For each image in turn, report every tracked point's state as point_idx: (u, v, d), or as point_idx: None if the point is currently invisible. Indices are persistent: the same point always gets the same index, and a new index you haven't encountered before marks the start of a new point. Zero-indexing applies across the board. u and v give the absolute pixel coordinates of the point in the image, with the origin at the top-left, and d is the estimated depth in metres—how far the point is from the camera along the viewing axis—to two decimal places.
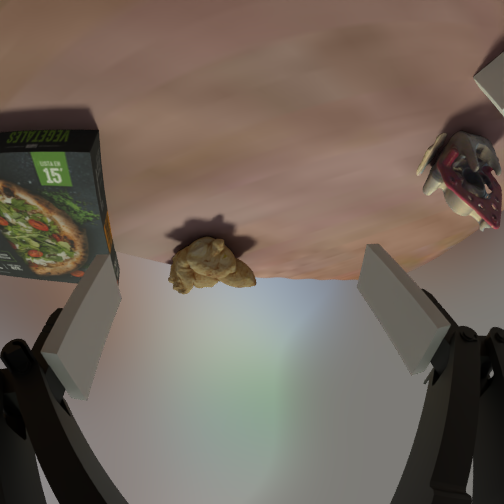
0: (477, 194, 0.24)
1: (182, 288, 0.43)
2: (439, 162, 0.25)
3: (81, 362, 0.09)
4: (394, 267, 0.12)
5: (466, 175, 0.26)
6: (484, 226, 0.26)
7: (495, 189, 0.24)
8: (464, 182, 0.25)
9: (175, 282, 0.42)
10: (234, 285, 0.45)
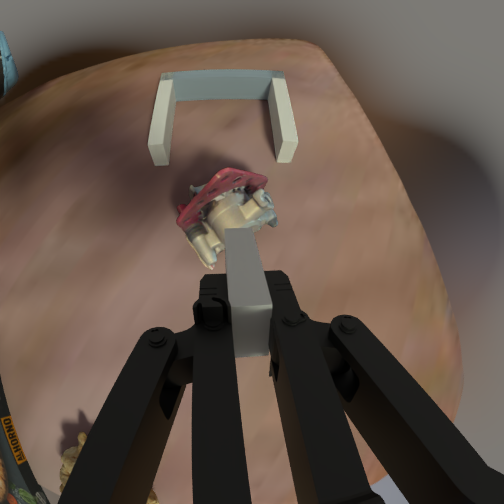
0: None
1: None
2: None
3: None
4: (249, 248, 0.13)
5: None
6: (258, 198, 0.27)
7: None
8: (207, 209, 0.31)
9: None
10: None
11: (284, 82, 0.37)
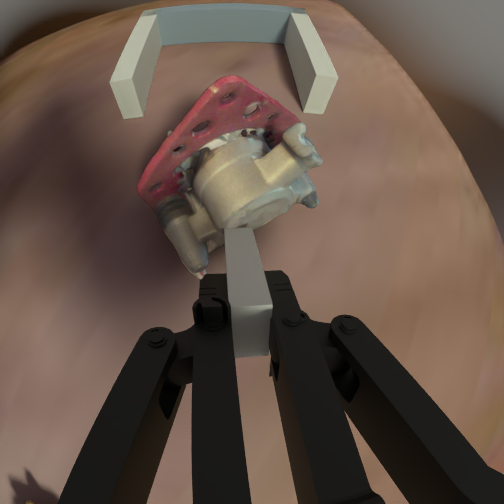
0: None
1: None
2: None
3: None
4: (249, 248, 0.13)
5: None
6: (294, 139, 0.13)
7: None
8: (195, 169, 0.16)
9: None
10: None
11: (307, 17, 0.23)
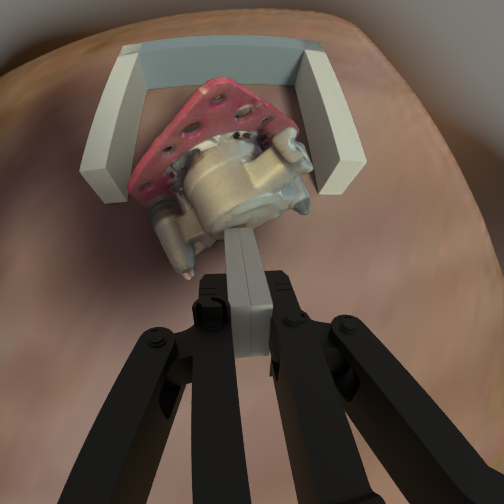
0: None
1: None
2: None
3: None
4: (249, 248, 0.13)
5: None
6: (284, 144, 0.12)
7: None
8: (186, 170, 0.16)
9: None
10: None
11: (325, 57, 0.21)
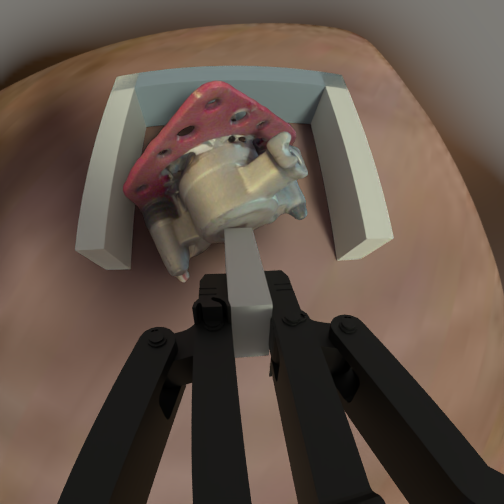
0: None
1: None
2: None
3: None
4: (249, 248, 0.13)
5: None
6: (278, 148, 0.12)
7: None
8: (182, 173, 0.16)
9: None
10: None
11: (348, 96, 0.19)
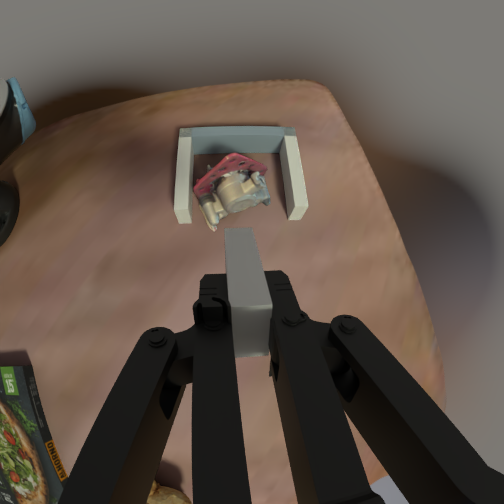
0: None
1: None
2: None
3: None
4: (249, 248, 0.13)
5: None
6: (254, 177, 0.36)
7: None
8: (218, 183, 0.40)
9: None
10: None
11: (295, 140, 0.44)
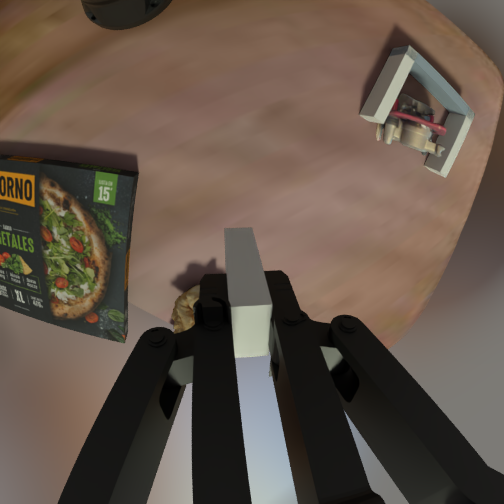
0: (422, 123, 0.35)
1: (181, 327, 0.48)
2: None
3: None
4: (249, 248, 0.13)
5: None
6: (439, 149, 0.34)
7: None
8: (410, 119, 0.36)
9: (175, 321, 0.48)
10: None
11: (469, 125, 0.36)
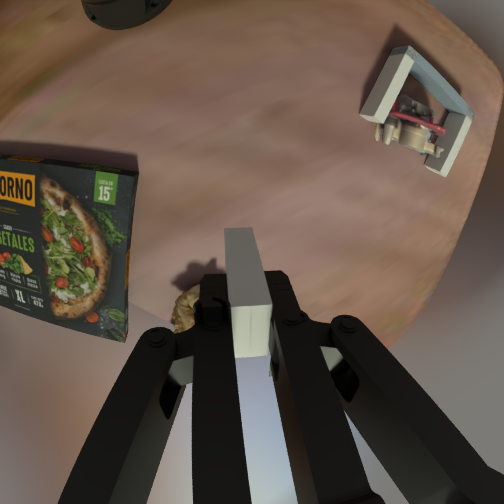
0: None
1: (181, 327, 0.48)
2: None
3: None
4: (249, 248, 0.13)
5: None
6: (438, 150, 0.35)
7: None
8: (409, 120, 0.36)
9: (176, 320, 0.48)
10: None
11: (469, 125, 0.36)
